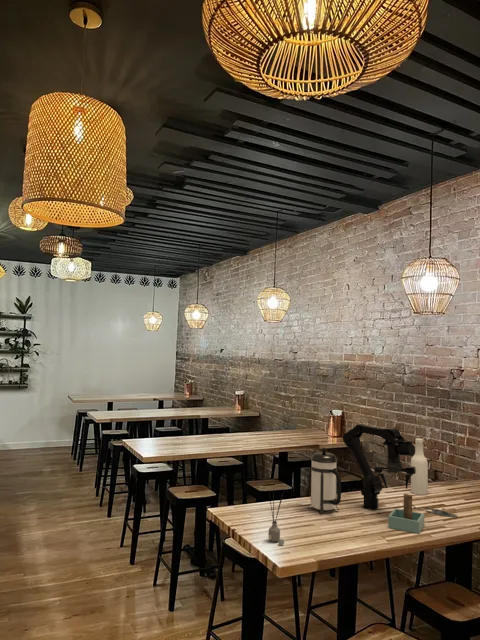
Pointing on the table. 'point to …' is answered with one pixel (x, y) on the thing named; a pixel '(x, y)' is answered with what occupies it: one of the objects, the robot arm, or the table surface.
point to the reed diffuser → (275, 525)
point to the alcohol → (419, 470)
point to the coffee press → (325, 482)
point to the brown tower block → (407, 506)
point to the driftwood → (439, 512)
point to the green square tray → (406, 521)
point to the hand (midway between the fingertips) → (396, 488)
